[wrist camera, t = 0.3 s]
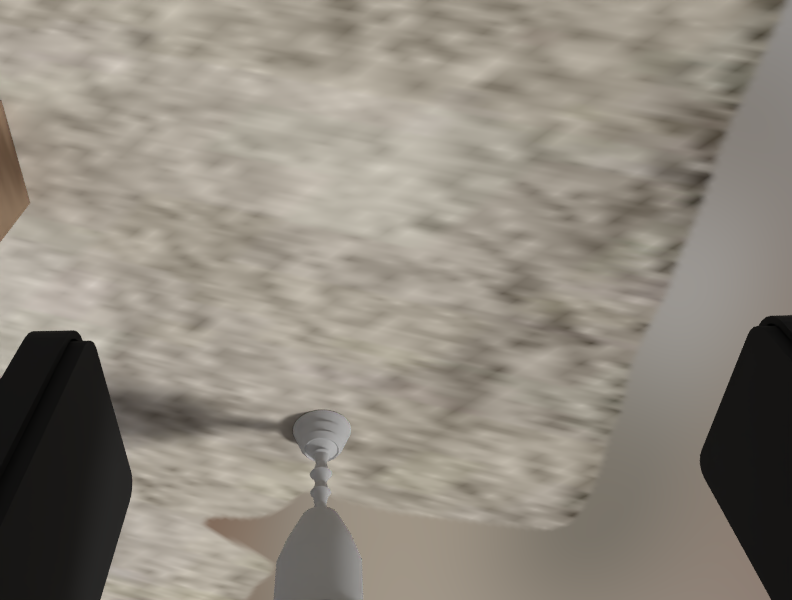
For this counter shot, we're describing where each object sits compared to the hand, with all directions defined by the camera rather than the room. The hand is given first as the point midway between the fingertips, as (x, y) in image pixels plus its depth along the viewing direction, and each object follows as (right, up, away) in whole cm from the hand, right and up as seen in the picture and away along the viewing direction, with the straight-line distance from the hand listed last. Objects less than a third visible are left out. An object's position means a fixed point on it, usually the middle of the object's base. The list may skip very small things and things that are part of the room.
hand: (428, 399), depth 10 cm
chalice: (-7, -10, +51) cm, 52 cm away
